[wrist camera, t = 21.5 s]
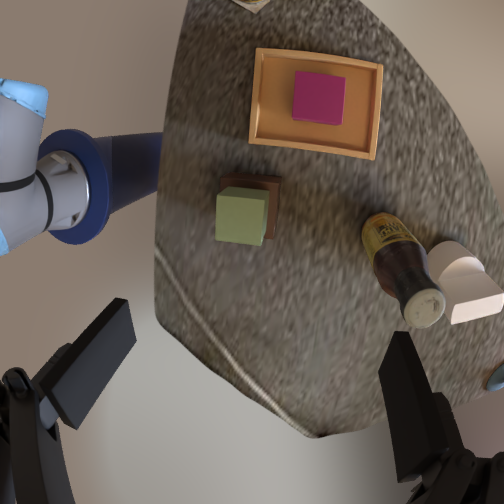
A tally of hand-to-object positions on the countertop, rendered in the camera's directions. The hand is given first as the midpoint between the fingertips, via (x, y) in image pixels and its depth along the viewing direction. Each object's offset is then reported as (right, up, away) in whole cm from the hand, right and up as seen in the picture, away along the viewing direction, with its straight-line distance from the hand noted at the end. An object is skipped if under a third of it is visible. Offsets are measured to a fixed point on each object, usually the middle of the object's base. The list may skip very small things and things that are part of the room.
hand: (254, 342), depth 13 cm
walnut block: (0, +11, +26) cm, 29 cm away
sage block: (-1, +9, +22) cm, 24 cm away
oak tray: (+8, +23, +20) cm, 32 cm away
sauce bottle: (+18, +7, +25) cm, 32 cm away
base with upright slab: (+30, +2, +25) cm, 40 cm away
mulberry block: (+8, +23, +19) cm, 31 cm away
